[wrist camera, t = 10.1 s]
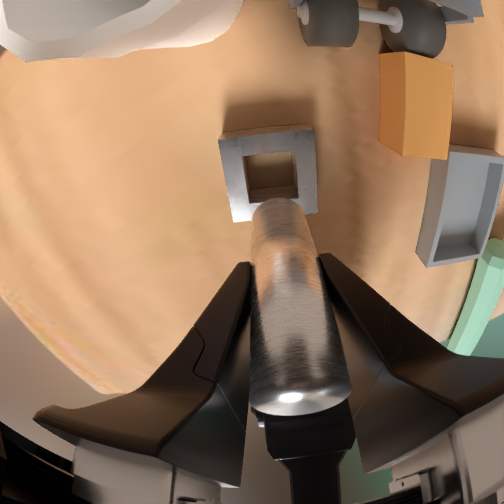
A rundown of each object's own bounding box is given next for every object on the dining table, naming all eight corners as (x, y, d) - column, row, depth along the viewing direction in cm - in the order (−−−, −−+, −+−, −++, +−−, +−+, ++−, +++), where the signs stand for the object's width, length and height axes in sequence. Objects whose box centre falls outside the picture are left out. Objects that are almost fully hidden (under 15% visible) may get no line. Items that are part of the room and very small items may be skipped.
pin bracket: (311, 199, 21) (317, 213, 19) (235, 207, 21) (233, 222, 19) (307, 123, 17) (314, 129, 15) (222, 133, 18) (217, 140, 16)
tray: (469, 244, 23) (481, 257, 21) (415, 252, 24) (426, 267, 22) (491, 149, 16) (507, 158, 14) (432, 142, 17) (449, 151, 15)
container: (509, 268, 17) (452, 382, 31) (524, 244, 18) (471, 360, 32) (470, 243, 22) (431, 361, 36) (489, 224, 23) (451, 341, 37)
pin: (306, 241, 13) (343, 408, 6) (255, 247, 13) (256, 418, 6) (304, 195, 11) (360, 368, 5) (247, 201, 11) (241, 382, 5)
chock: (419, 144, 18) (446, 160, 14) (378, 140, 18) (402, 155, 15) (421, 63, 14) (452, 65, 10) (378, 54, 14) (404, 51, 10)
